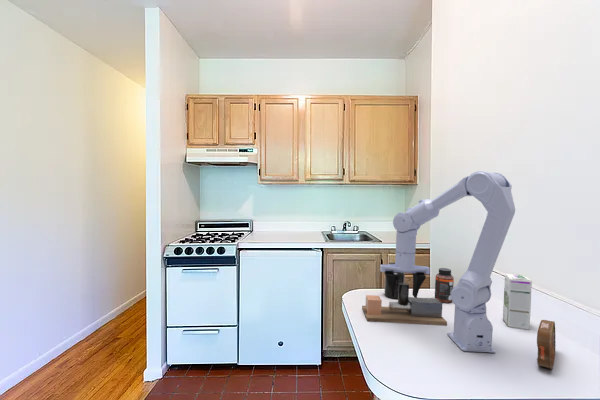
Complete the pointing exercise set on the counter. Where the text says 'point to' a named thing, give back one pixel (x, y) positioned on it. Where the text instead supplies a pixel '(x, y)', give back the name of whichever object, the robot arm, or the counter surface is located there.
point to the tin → (546, 343)
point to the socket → (373, 304)
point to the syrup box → (517, 301)
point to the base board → (401, 317)
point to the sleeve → (425, 307)
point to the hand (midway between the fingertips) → (403, 295)
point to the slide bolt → (401, 299)
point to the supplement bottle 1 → (398, 279)
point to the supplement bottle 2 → (444, 285)
